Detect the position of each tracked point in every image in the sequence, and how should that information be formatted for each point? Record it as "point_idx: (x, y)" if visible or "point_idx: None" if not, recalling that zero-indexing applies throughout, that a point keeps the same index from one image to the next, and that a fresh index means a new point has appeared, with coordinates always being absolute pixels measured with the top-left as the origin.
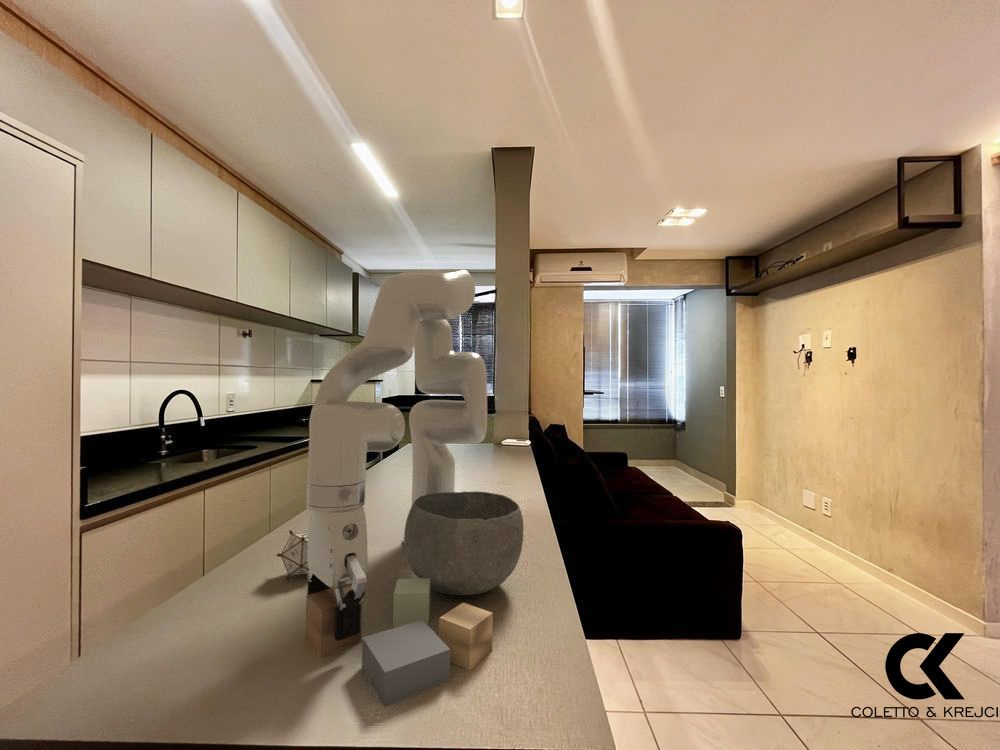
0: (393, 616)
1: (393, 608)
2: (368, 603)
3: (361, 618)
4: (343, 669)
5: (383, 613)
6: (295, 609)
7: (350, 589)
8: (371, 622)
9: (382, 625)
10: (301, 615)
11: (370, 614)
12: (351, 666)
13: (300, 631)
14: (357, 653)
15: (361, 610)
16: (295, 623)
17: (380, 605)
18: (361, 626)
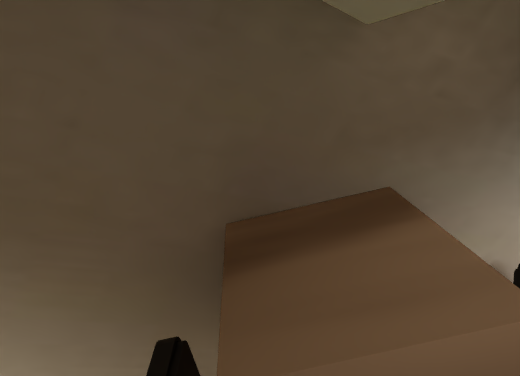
0: (393, 13)
1: (421, 6)
2: (37, 75)
3: (444, 232)
4: (508, 265)
5: (192, 25)
6: (11, 368)
7: (348, 369)
8: (258, 111)
9: (313, 67)
10: (73, 352)
11: (174, 96)
12: (512, 242)
13: (200, 358)
14: (455, 213)
15: (476, 258)
16: (133, 369)
17: (85, 13)
18: (420, 212)
